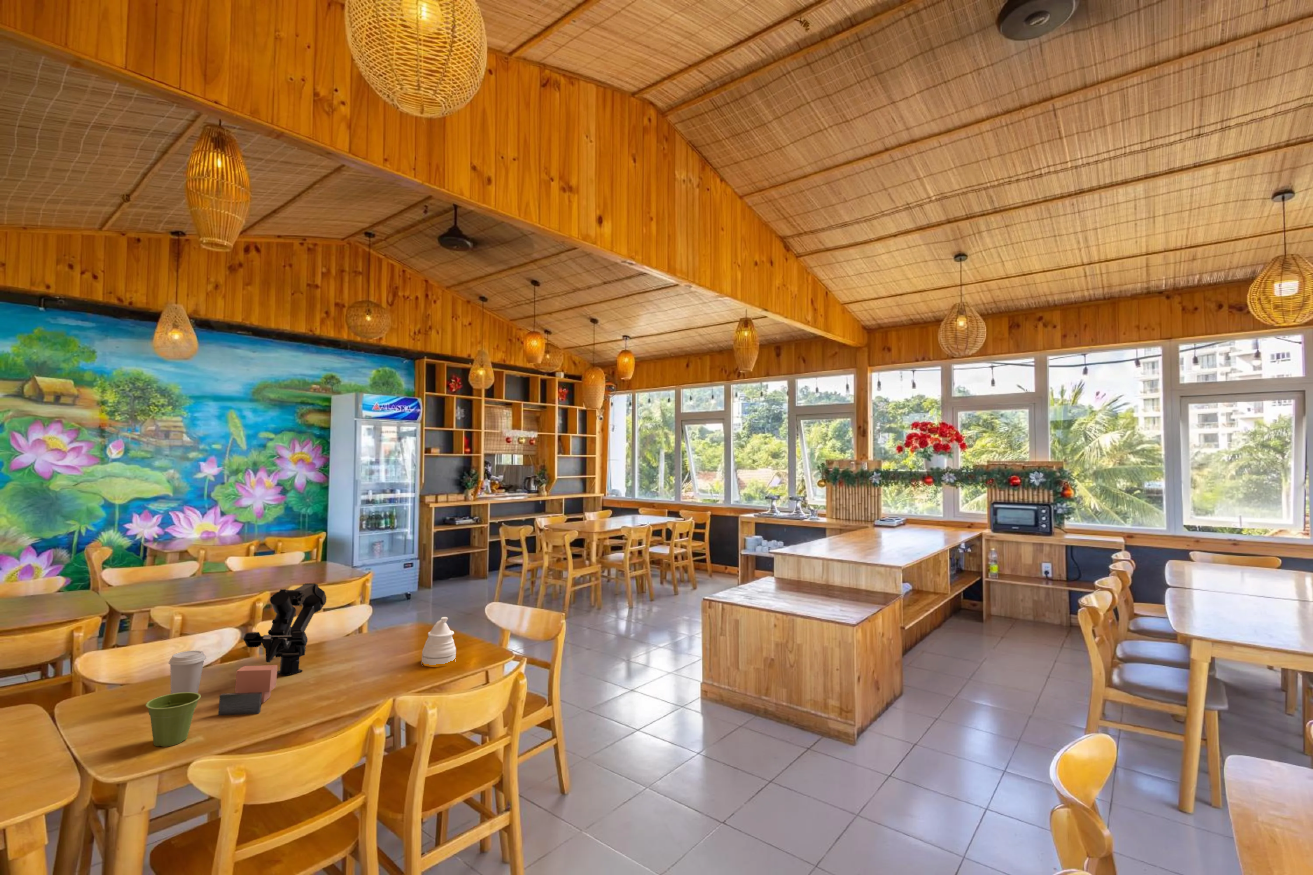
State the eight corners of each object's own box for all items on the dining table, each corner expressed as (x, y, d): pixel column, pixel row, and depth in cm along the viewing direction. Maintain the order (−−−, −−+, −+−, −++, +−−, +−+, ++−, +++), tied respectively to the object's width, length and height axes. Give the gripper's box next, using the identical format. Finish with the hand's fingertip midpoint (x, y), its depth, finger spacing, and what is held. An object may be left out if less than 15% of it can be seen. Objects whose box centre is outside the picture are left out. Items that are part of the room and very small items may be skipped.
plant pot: (131, 746, 160) (135, 703, 161) (180, 729, 171) (183, 689, 172) (159, 755, 156) (163, 710, 157) (207, 737, 167) (210, 696, 168)
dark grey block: (240, 698, 196) (241, 679, 196) (277, 696, 198) (278, 678, 198) (218, 715, 182) (219, 695, 182) (258, 713, 184) (259, 693, 184)
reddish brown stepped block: (241, 697, 195) (243, 665, 196) (275, 696, 197) (277, 664, 198) (233, 703, 190) (236, 670, 191) (268, 702, 193) (271, 669, 193)
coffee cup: (160, 709, 185) (165, 659, 186) (169, 698, 193) (173, 651, 194) (199, 704, 189) (203, 656, 190) (205, 694, 198) (209, 648, 199)
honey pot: (462, 661, 242) (464, 616, 243) (435, 669, 231) (438, 622, 232) (441, 655, 249) (444, 611, 250) (414, 663, 238) (417, 617, 239)
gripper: (315, 632, 221) (302, 672, 209) (259, 633, 217) (243, 674, 206) (310, 615, 214) (296, 656, 202) (251, 616, 210) (234, 658, 198)
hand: (267, 661), depth 202 cm, fingers closed
